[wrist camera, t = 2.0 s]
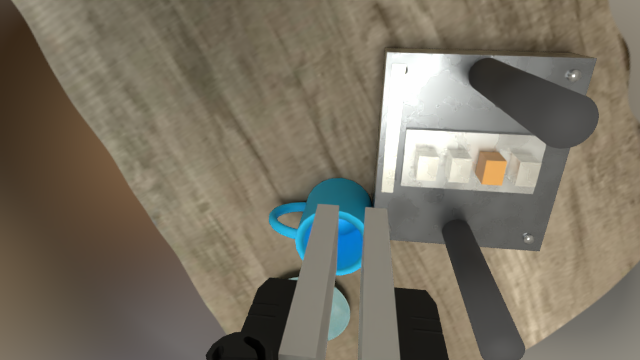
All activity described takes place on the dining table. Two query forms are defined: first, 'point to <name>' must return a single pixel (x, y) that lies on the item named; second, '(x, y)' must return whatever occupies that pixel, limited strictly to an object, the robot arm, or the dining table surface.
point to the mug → (349, 226)
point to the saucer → (337, 314)
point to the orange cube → (491, 168)
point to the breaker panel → (465, 148)
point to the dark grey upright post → (481, 296)
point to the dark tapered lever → (536, 103)
